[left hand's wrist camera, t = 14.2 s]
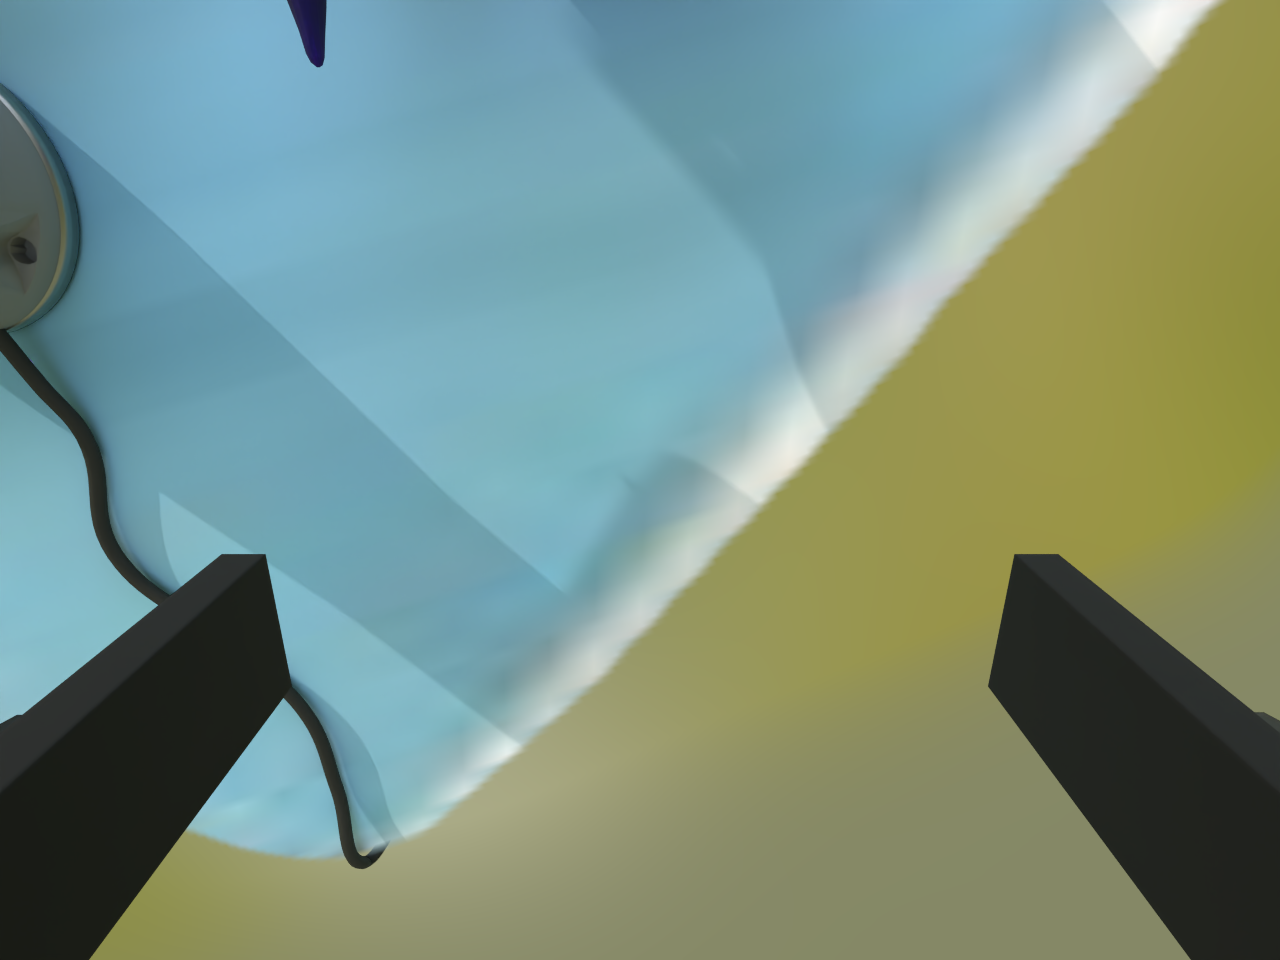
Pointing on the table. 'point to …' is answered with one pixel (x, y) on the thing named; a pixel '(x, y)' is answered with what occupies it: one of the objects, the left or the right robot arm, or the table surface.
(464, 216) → the table surface
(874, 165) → the table surface
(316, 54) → the toy
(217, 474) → the table surface
